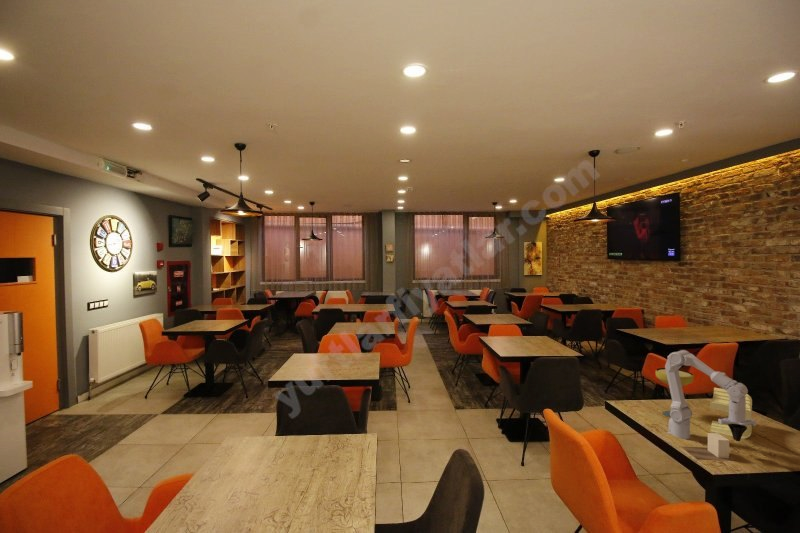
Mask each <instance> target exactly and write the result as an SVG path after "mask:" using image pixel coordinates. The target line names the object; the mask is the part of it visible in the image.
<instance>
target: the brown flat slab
mask: <svg viewBox="0 0 800 533" xmlns="http://www.w3.org/2000/svg"><path fill="white" fill-rule="evenodd" d="M681 448H682V449H683V450H685V451H686V452H687V453H689V454H690V455H691V456H692V457H694V458H695V459H696V460H698V461H699V460H701V461H722V462H723V461H724V462H736V460H735V459H734V458H732V457H731V456H730V455H729V458H718V457H717V456H715V455H714V454H712V453H711V452H710V451H708V447H702V446H681Z"/></svg>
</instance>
